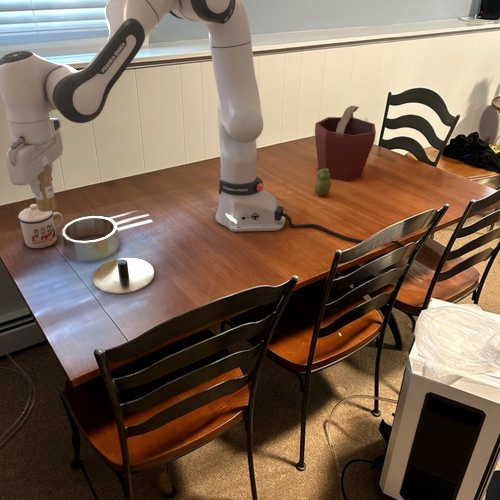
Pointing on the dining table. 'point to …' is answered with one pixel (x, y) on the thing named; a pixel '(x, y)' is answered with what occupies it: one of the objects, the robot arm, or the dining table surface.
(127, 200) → the dining table surface
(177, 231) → the dining table surface
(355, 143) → the bucket
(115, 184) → the dining table surface
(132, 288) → the pan lid
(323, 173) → the green figurine
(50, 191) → the sprinkles bottle
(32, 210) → the teacup with lid
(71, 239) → the pan
